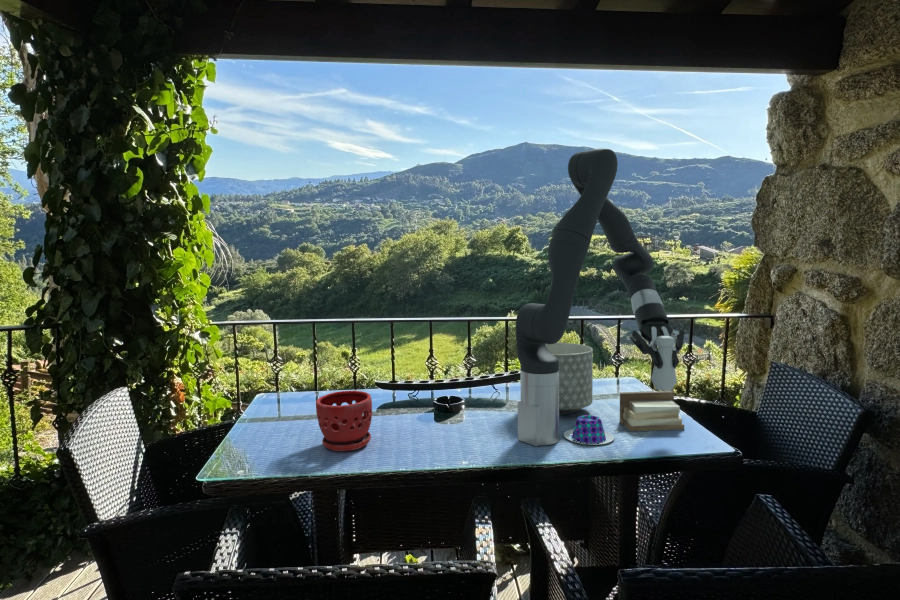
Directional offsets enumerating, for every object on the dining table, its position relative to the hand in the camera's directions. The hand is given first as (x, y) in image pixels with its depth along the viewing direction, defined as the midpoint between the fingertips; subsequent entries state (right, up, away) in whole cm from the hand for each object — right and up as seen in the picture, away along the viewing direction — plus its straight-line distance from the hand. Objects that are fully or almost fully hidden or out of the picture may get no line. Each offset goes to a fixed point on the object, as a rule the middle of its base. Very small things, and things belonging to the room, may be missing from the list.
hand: (667, 366), depth 133 cm
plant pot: (-78, -19, +1) cm, 80 cm away
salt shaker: (0, -6, +3) cm, 6 cm away
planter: (-21, -16, +26) cm, 37 cm away
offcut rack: (0, -17, +11) cm, 20 cm away
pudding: (-18, -18, +3) cm, 26 cm away
